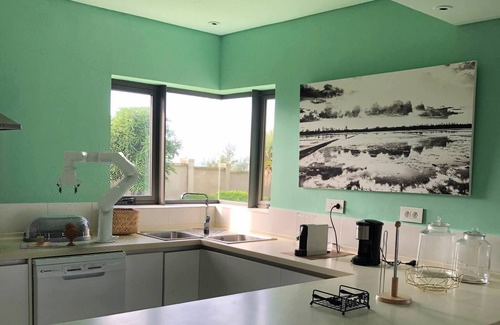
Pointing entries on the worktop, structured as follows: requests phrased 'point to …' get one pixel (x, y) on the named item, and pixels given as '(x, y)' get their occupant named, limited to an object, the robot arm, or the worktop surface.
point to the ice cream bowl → (71, 233)
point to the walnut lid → (40, 243)
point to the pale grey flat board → (25, 246)
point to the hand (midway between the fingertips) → (67, 193)
